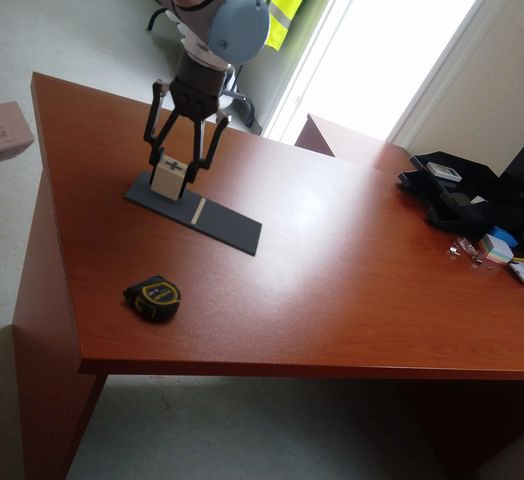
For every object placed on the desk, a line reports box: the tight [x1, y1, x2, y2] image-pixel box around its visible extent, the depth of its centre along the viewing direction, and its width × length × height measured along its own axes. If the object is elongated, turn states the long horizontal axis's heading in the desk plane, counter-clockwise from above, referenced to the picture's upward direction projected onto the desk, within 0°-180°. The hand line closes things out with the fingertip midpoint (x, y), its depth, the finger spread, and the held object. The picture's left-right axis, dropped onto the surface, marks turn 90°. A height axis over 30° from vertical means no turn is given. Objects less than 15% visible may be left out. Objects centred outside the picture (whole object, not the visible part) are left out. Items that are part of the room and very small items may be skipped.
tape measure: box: [122, 274, 182, 321], centre depth 66 cm, size 7×7×4 cm
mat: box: [123, 169, 263, 257], centre depth 89 cm, size 26×12×1 cm, turn 85°
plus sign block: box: [151, 154, 188, 201], centre depth 85 cm, size 5×5×5 cm
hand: (167, 188), depth 86 cm, fingers closed on plus sign block, 5 cm apart
